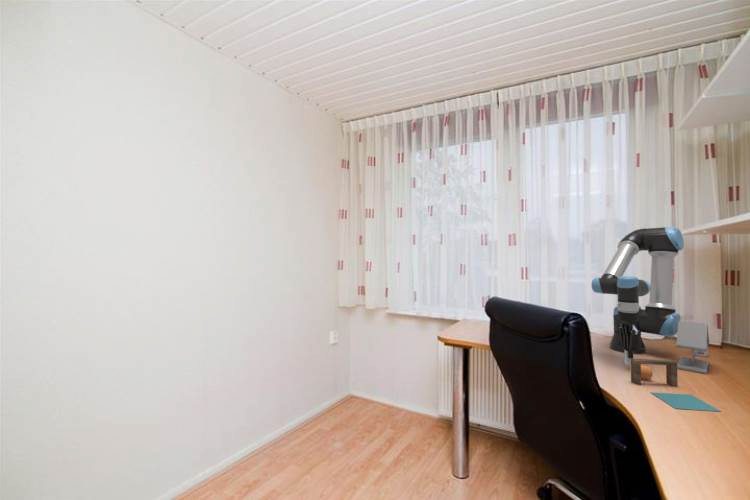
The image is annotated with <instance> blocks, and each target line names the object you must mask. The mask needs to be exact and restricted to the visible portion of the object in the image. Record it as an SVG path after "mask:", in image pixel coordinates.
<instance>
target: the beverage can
mask: <svg viewBox="0 0 750 500" xmlns="http://www.w3.org/2000/svg"><path fill="white" fill-rule="evenodd" d="M706 347H707V352H705V351H699V350H695V356H698V357H708V356H709V349H708V348H709V344H707V345H706Z"/></svg>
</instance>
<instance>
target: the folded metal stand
mask: <svg viewBox="0 0 750 500" xmlns="http://www.w3.org/2000/svg"><path fill="white" fill-rule="evenodd" d="M709 335H710V334H709V327H708V323H703V322H695V321H694V322H692V321H684V320H681V321H679V322H678V332H677V333H676V343H675V344H676V345H675V347H676V348H679V349H685V350H691V357H686V356H680V359H679V360H678V362H677V370H682V371H683V370H684V371H686V372H687V371H688V372H695V373H697V374H699V373H700V374H705V375H708V368H709V366H710V364H711V363H710V360H705V359H704V360H703V359H697V358H695V357H696V355H695V350H699V351H705V352H707V347H706V345H707V344H708V345H709V344H710V338H709V337H710V336H709Z"/></svg>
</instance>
